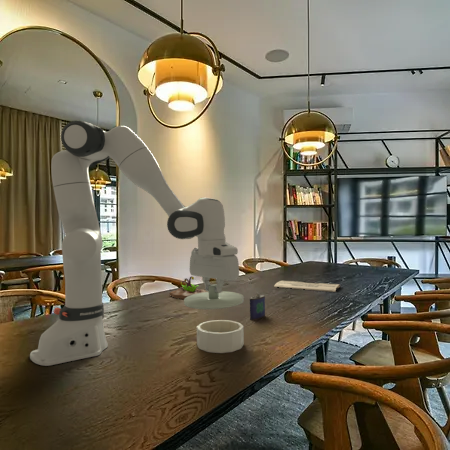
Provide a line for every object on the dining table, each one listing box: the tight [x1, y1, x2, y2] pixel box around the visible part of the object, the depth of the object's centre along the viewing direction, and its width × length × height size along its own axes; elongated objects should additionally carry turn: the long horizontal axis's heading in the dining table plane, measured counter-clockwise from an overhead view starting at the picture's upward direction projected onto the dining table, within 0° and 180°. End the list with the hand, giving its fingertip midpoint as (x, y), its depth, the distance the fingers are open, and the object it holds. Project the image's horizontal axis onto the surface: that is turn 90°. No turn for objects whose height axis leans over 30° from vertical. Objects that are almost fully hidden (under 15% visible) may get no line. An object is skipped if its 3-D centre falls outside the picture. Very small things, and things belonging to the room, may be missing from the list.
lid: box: [183, 283, 245, 310], centre depth 113 cm, size 19×19×5 cm
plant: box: [169, 275, 209, 300], centre depth 197 cm, size 20×20×11 cm
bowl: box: [196, 319, 245, 354], centre depth 117 cm, size 15×15×6 cm
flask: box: [249, 292, 266, 321], centre depth 150 cm, size 9×3×11 cm, turn 138°
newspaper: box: [273, 280, 341, 293], centre depth 219 cm, size 37×19×3 cm, turn 64°
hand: (213, 291), depth 113 cm, fingers closed on lid, 3 cm apart
